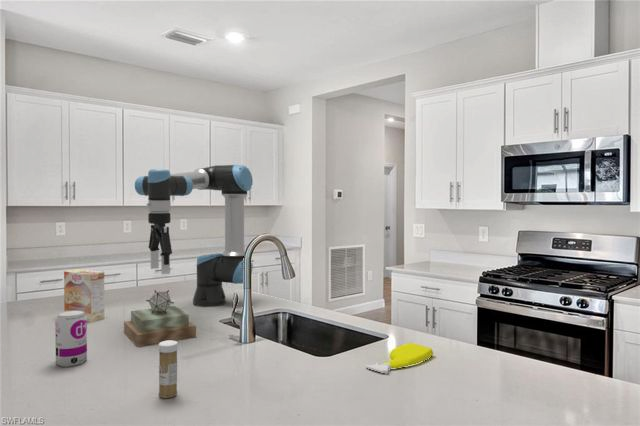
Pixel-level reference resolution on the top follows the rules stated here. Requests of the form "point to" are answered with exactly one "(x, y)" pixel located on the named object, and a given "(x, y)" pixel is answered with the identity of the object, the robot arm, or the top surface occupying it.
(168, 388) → the sprinkles bottle
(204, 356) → the top surface
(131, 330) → the tower base
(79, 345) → the supplement can
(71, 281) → the coffeecake box
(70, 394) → the top surface
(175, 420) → the top surface
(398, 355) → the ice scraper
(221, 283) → the robot arm
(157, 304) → the game die
